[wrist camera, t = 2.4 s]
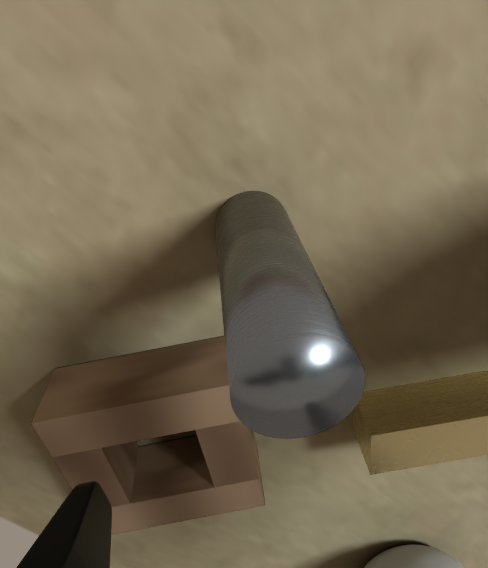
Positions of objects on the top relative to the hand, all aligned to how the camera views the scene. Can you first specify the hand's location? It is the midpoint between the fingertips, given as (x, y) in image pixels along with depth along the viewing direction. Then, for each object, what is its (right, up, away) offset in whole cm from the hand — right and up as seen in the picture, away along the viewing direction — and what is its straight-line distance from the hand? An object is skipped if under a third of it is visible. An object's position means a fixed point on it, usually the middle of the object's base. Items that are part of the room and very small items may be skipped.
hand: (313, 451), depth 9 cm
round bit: (-1, +6, +10) cm, 12 cm away
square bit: (+9, -3, +17) cm, 19 cm away
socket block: (-6, -4, +15) cm, 16 cm away
